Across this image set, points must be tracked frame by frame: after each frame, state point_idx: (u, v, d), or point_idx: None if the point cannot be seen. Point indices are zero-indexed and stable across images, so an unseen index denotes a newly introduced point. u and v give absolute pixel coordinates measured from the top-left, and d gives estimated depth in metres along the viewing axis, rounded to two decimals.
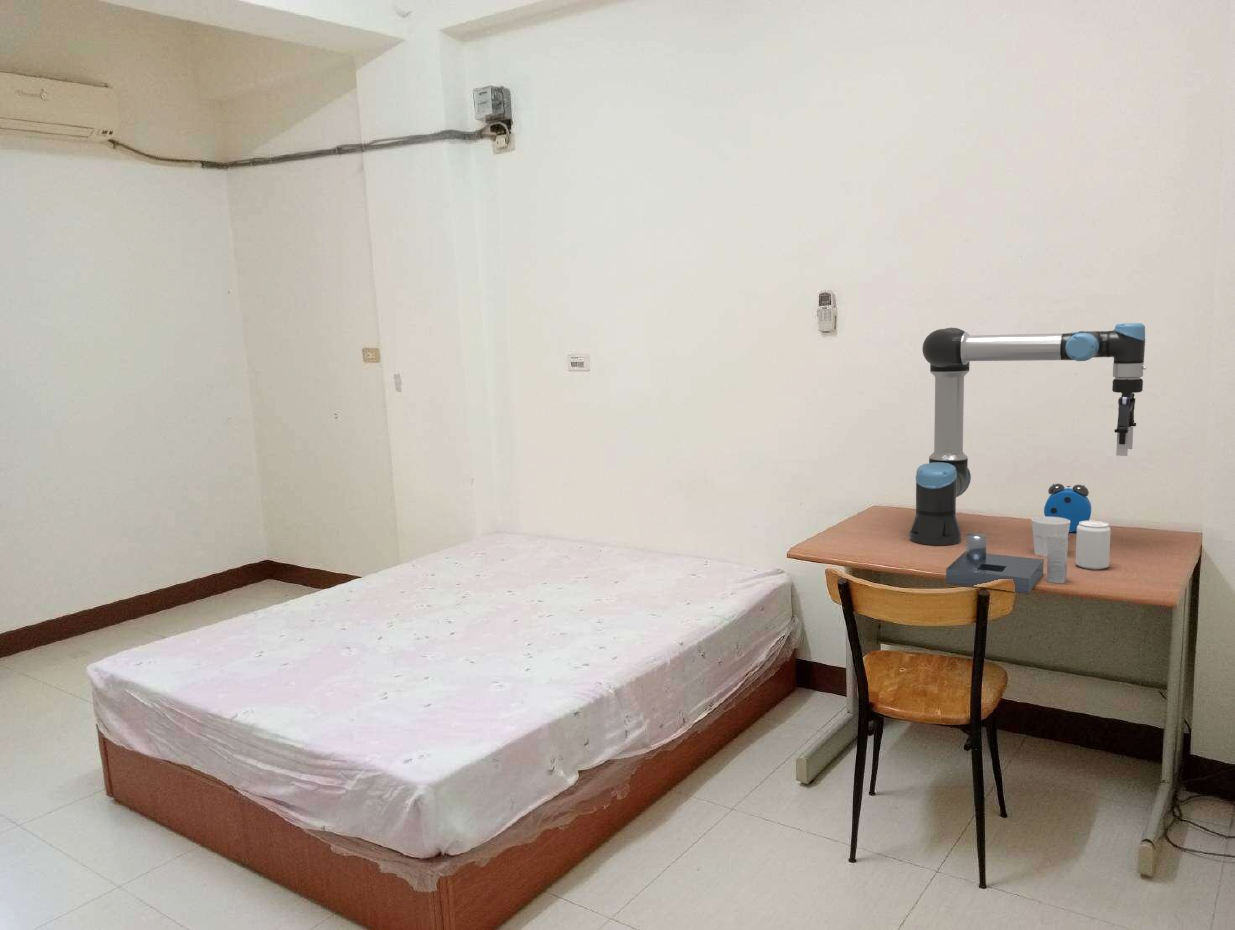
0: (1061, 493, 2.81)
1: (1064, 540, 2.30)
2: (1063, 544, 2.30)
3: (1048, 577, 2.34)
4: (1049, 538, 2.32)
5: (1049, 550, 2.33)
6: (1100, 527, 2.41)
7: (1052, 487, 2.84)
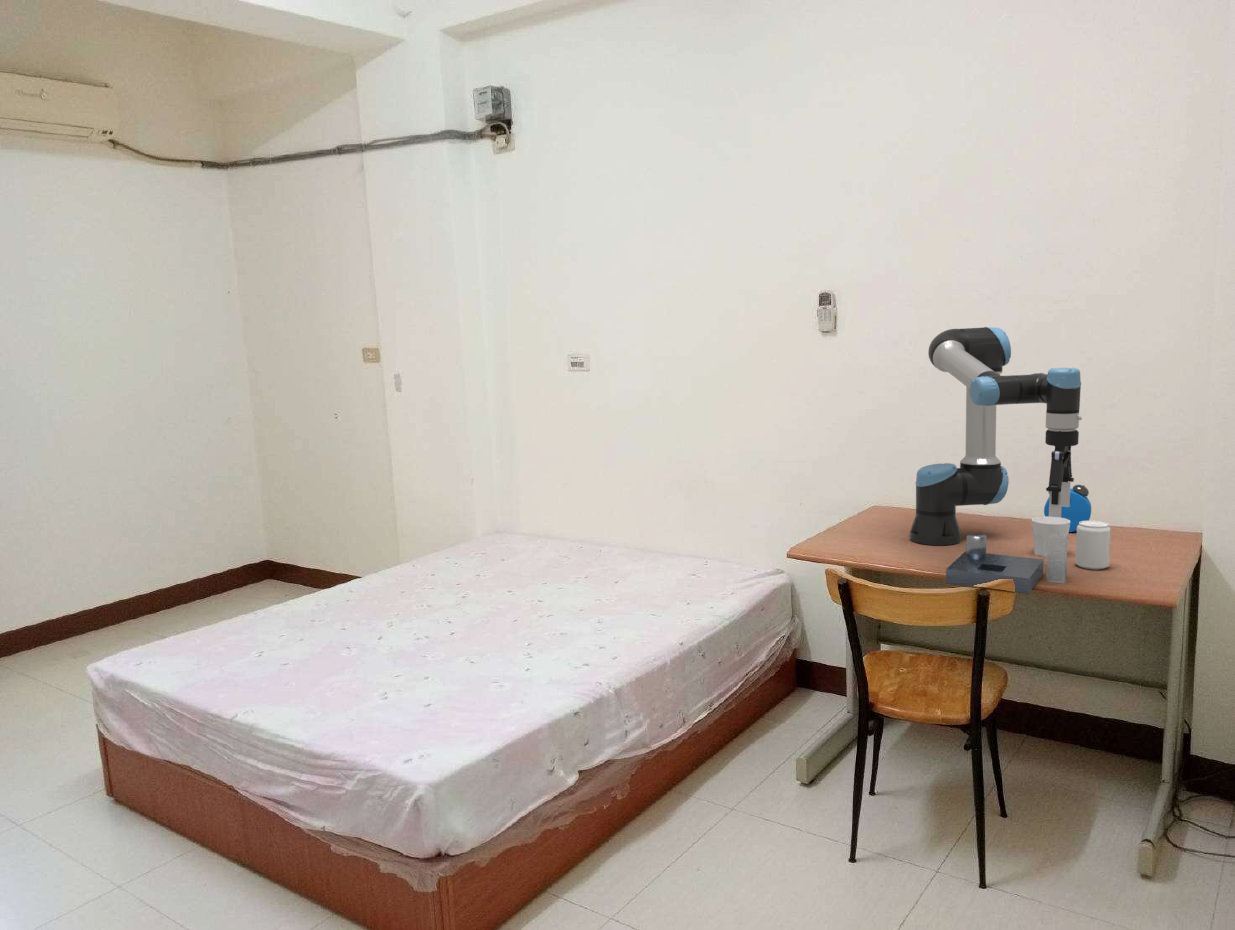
0: None
1: (1064, 540, 2.30)
2: (1063, 544, 2.30)
3: (1048, 577, 2.34)
4: (1049, 538, 2.32)
5: (1049, 550, 2.33)
6: (1100, 527, 2.41)
7: None
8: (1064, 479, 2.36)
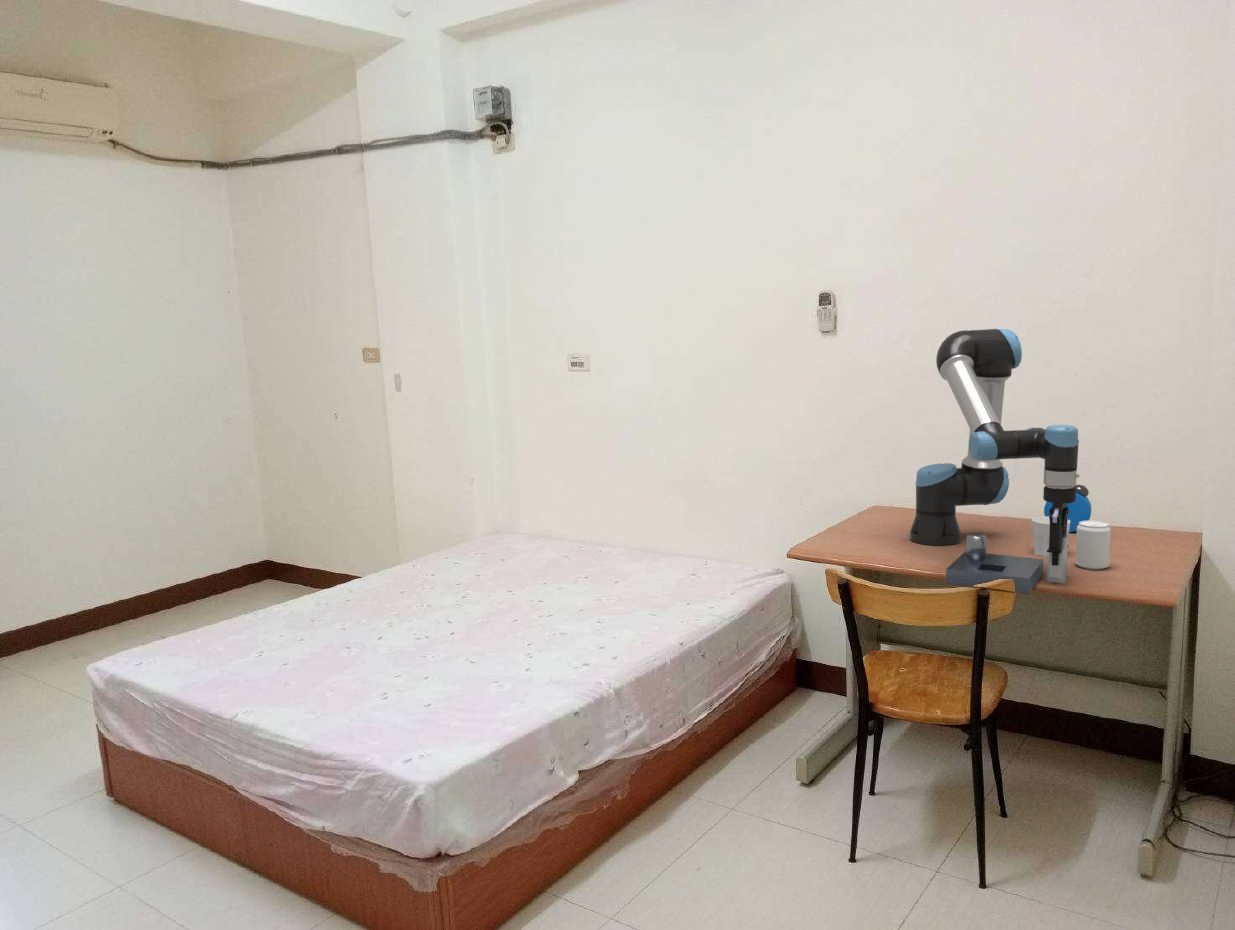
0: None
1: (1064, 540, 2.30)
2: (1063, 544, 2.30)
3: (1048, 577, 2.34)
4: None
5: None
6: (1100, 527, 2.41)
7: None
8: None
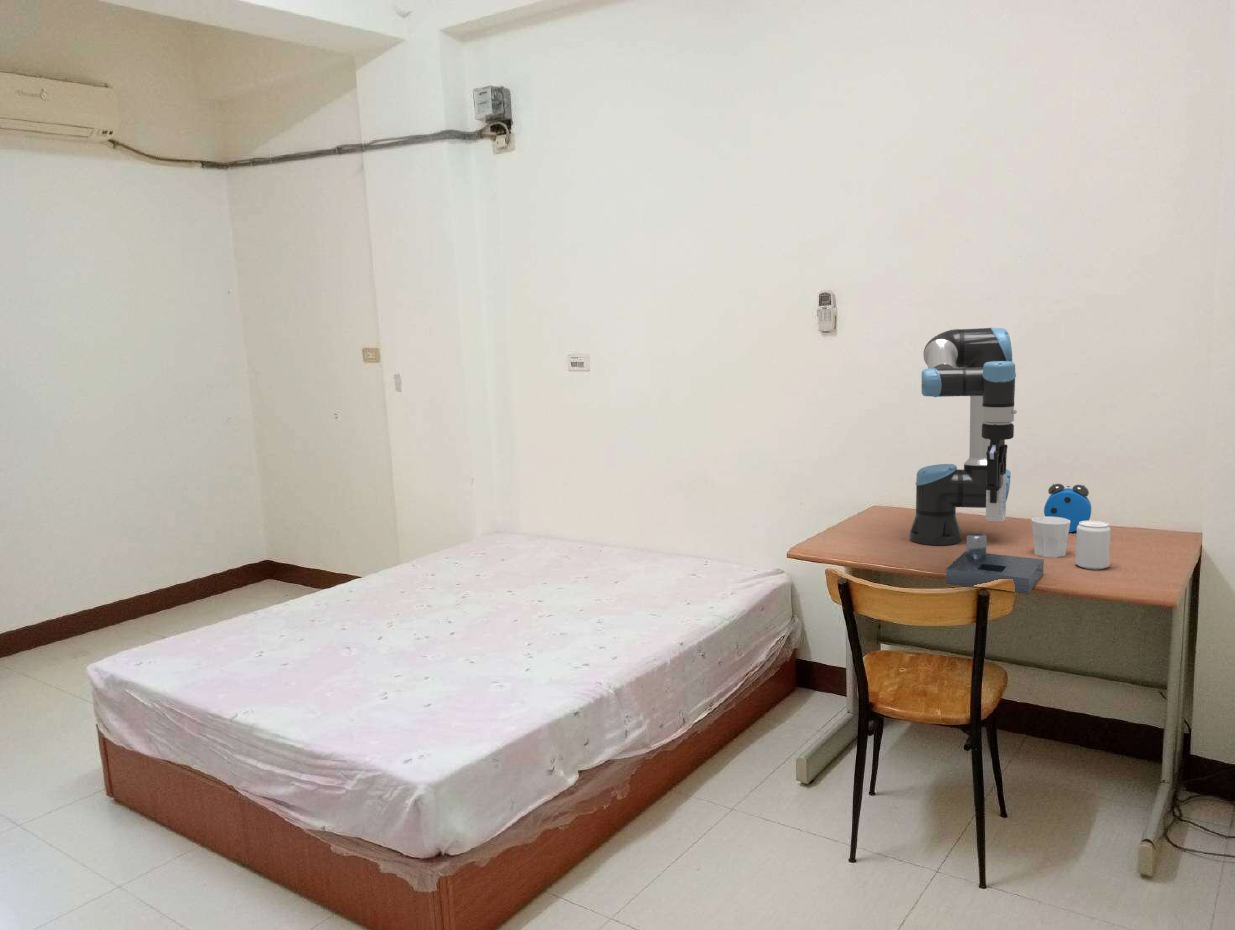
0: (1061, 493, 2.81)
1: (1002, 477, 2.28)
2: (1001, 481, 2.28)
3: (987, 515, 2.32)
4: None
5: None
6: (1100, 527, 2.41)
7: (1052, 487, 2.84)
8: None
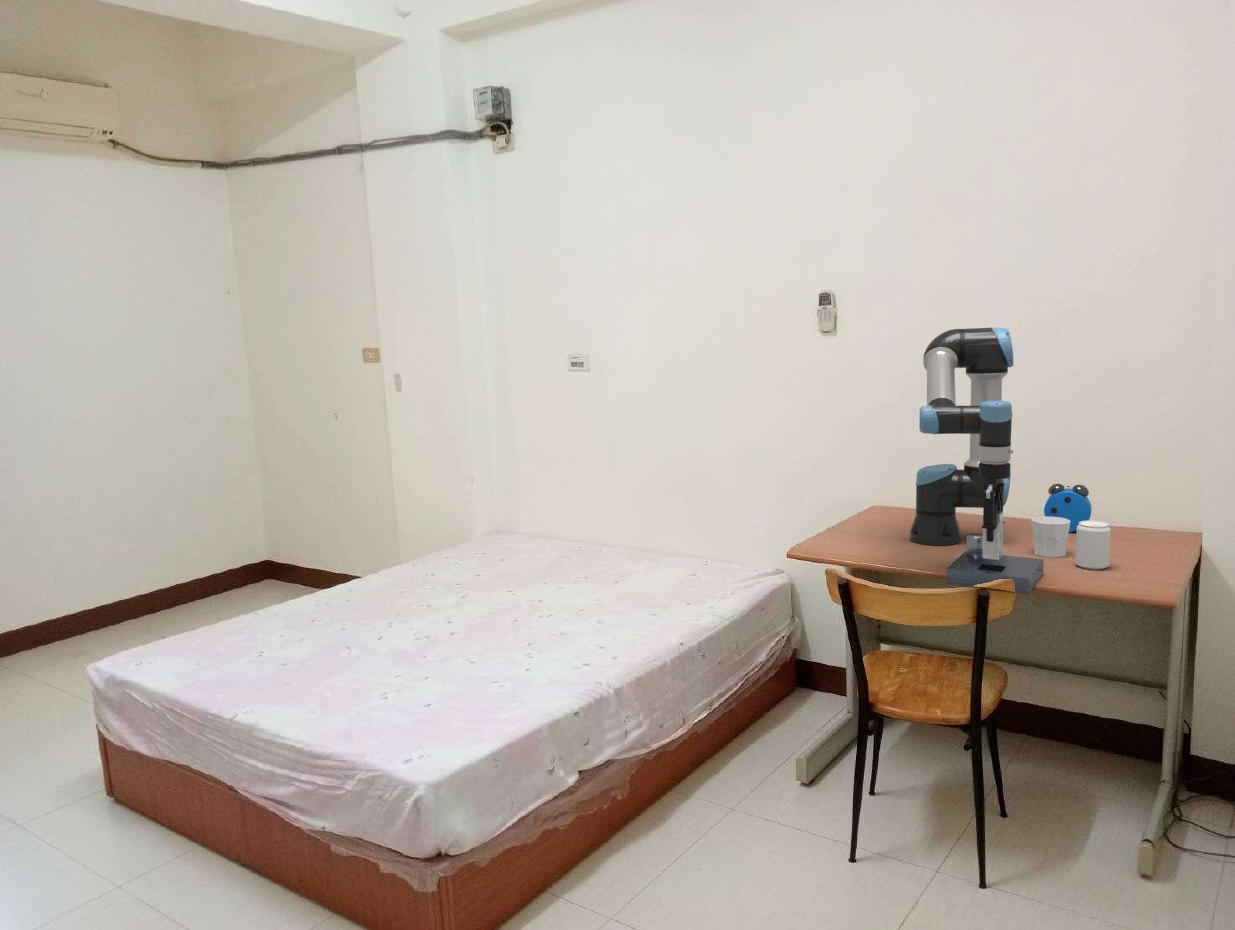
0: (1061, 493, 2.81)
1: (999, 516, 2.30)
2: (998, 520, 2.30)
3: (984, 553, 2.33)
4: None
5: None
6: (1100, 527, 2.41)
7: (1052, 487, 2.84)
8: None
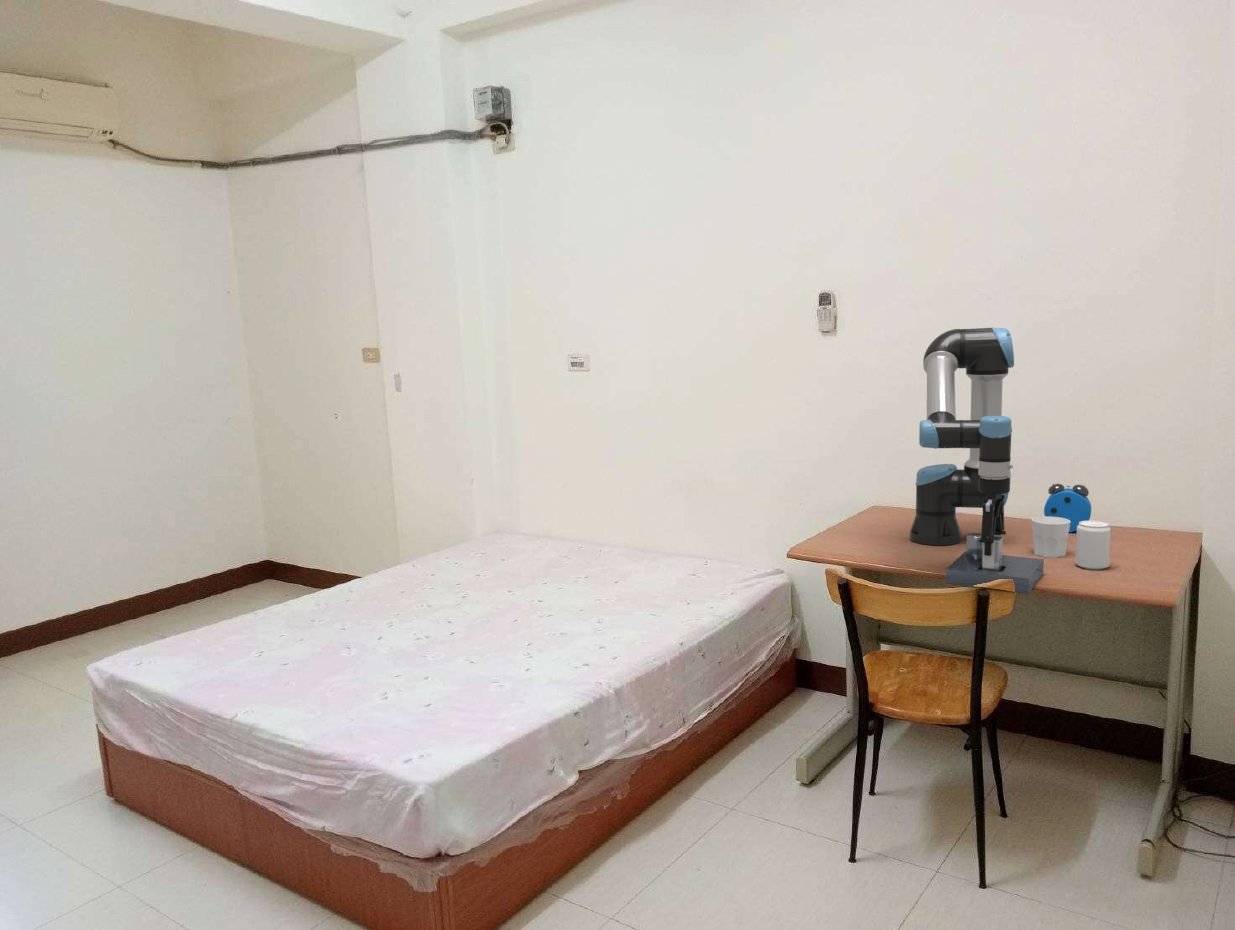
0: (1061, 493, 2.81)
1: (998, 542, 2.31)
2: (997, 546, 2.31)
3: None
4: None
5: None
6: (1100, 527, 2.41)
7: (1052, 487, 2.84)
8: (996, 532, 2.37)
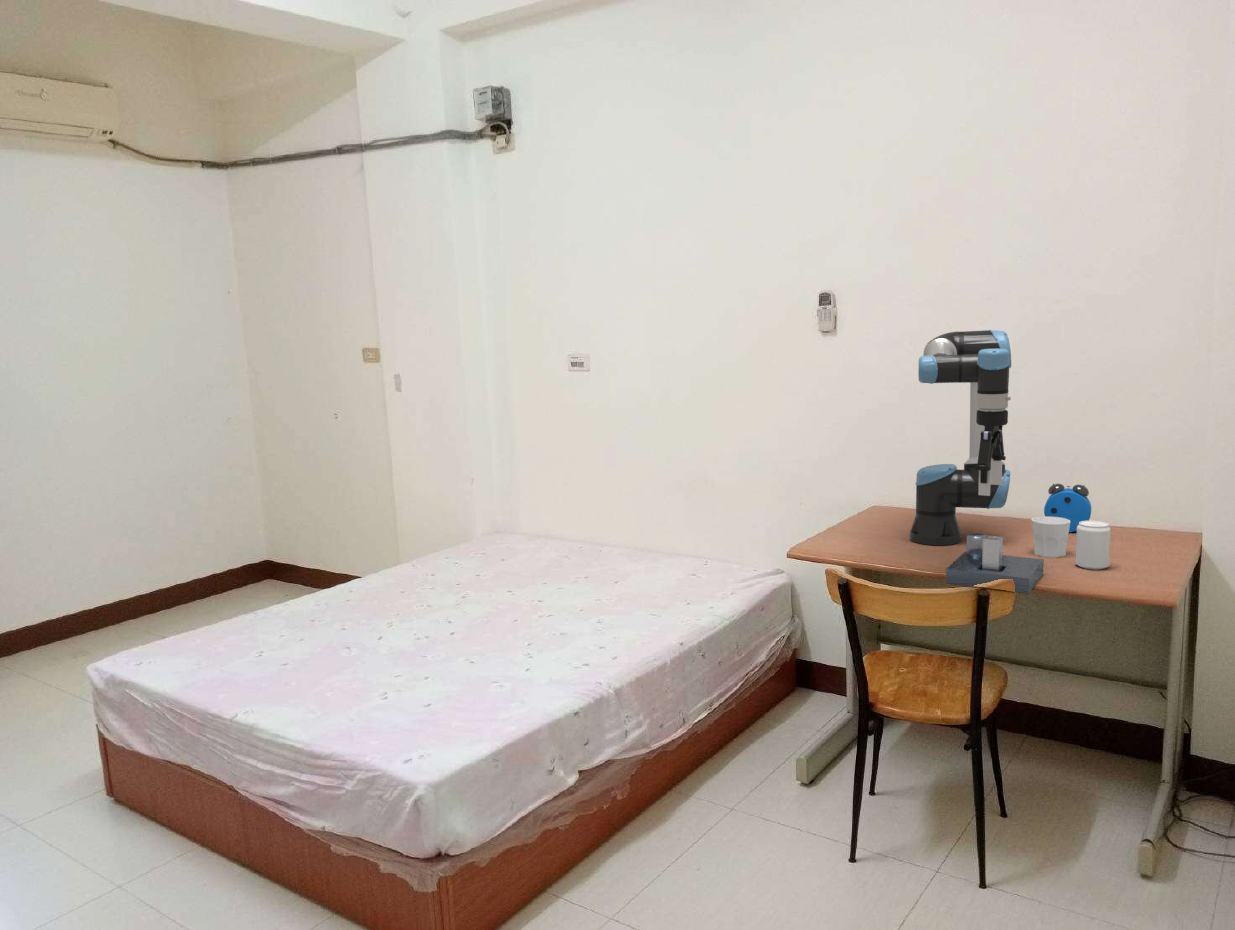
0: (1061, 493, 2.81)
1: (998, 542, 2.31)
2: (997, 546, 2.31)
3: None
4: (984, 540, 2.33)
5: (984, 552, 2.33)
6: (1100, 527, 2.41)
7: (1052, 487, 2.84)
8: (996, 458, 2.41)
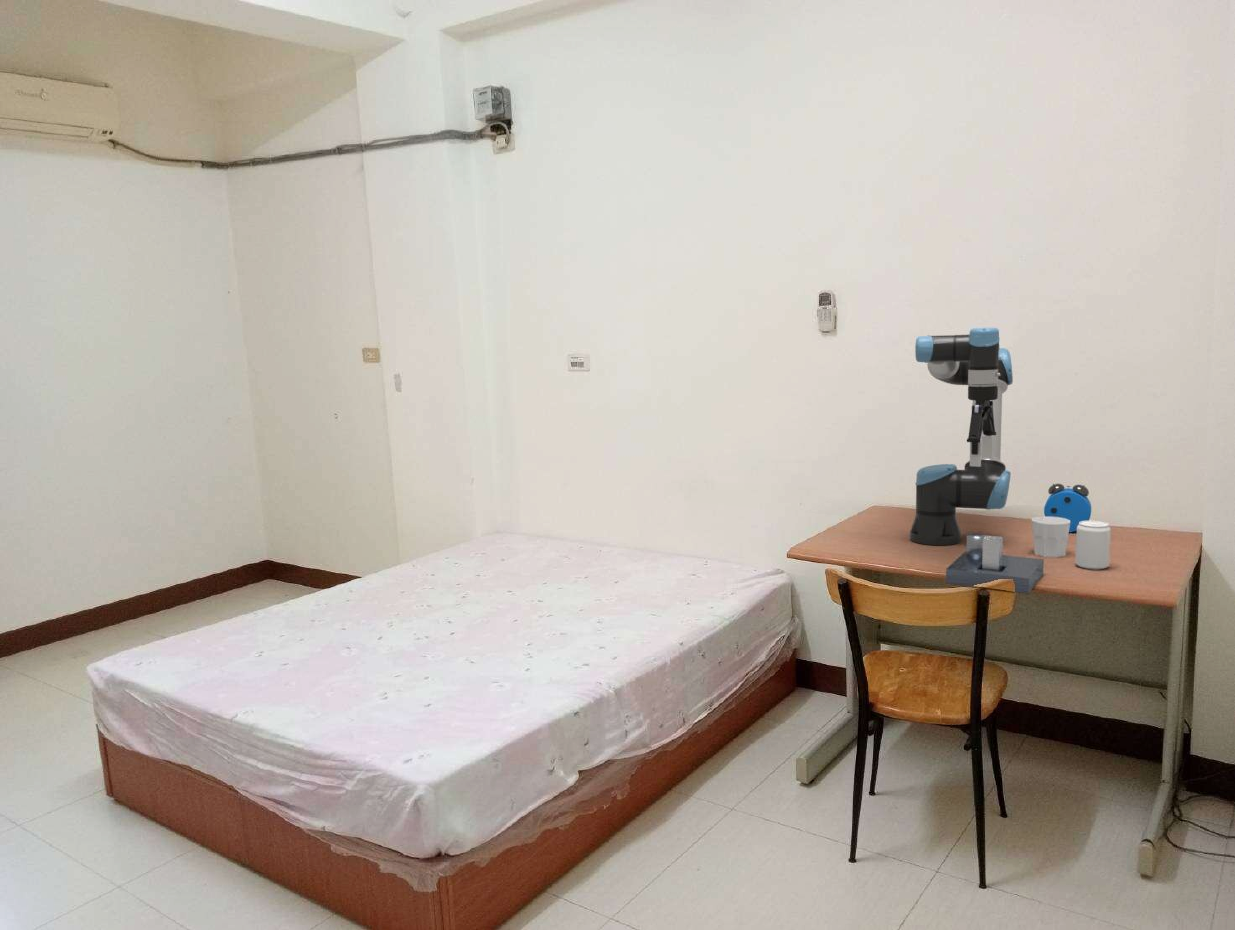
0: (1061, 493, 2.81)
1: (998, 542, 2.31)
2: (997, 546, 2.31)
3: None
4: (984, 540, 2.33)
5: (984, 552, 2.33)
6: (1100, 527, 2.41)
7: (1052, 487, 2.84)
8: (987, 433, 2.53)
